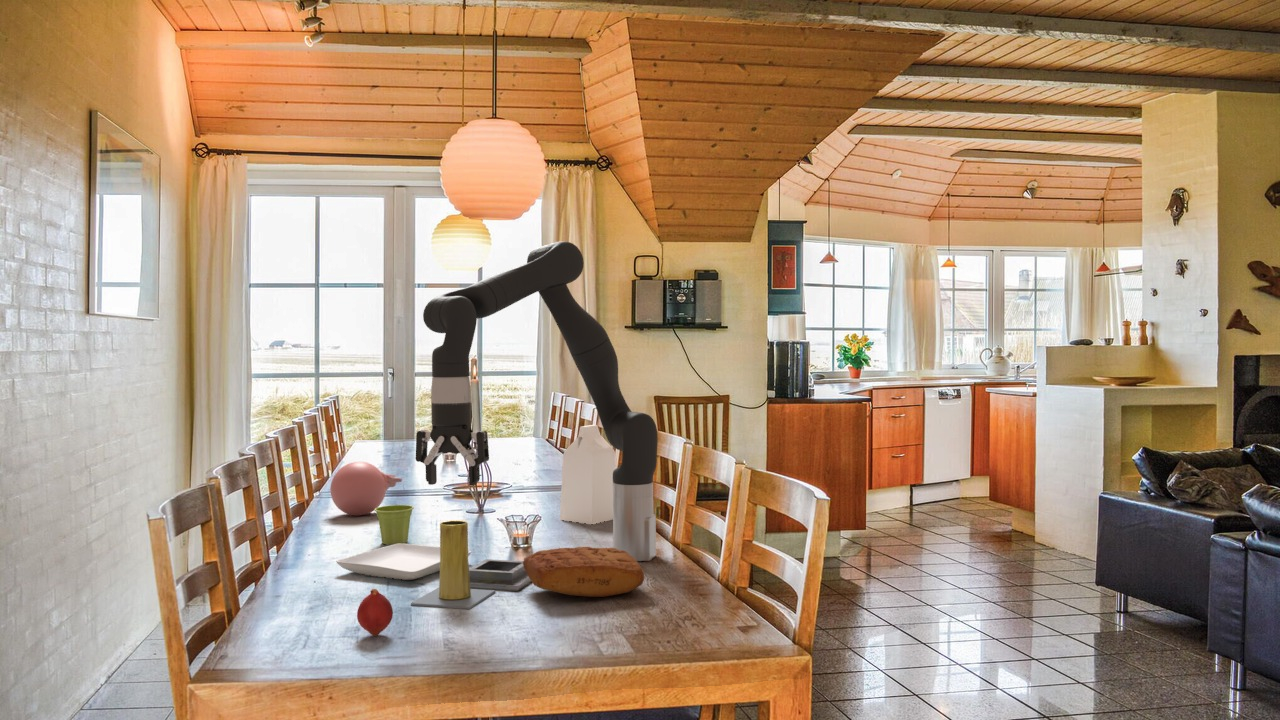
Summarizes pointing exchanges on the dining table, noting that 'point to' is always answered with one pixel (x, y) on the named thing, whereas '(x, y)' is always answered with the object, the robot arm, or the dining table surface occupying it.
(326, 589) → the dining table surface
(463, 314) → the robot arm
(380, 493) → the pink balloon
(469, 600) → the pad
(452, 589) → the vase
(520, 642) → the dining table surface
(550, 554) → the cuneiform tablet
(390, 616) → the onion
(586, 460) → the milk
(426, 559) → the salad plate
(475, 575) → the grey square socket base
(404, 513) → the plant pot
